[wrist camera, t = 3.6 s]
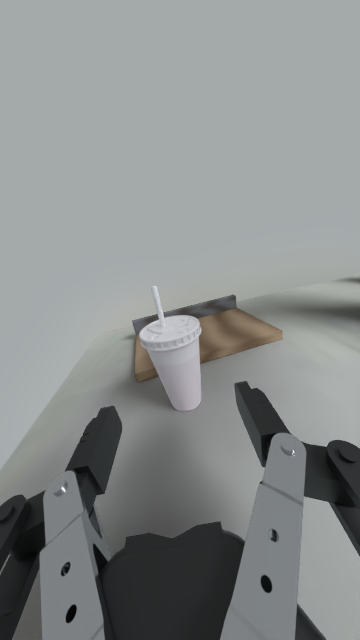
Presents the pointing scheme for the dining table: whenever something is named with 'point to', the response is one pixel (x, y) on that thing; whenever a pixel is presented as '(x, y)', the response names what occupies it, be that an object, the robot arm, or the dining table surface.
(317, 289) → the dining table surface
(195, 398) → the smoothie
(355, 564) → the dining table surface
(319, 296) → the dining table surface
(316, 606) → the dining table surface
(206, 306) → the tan serving tray
